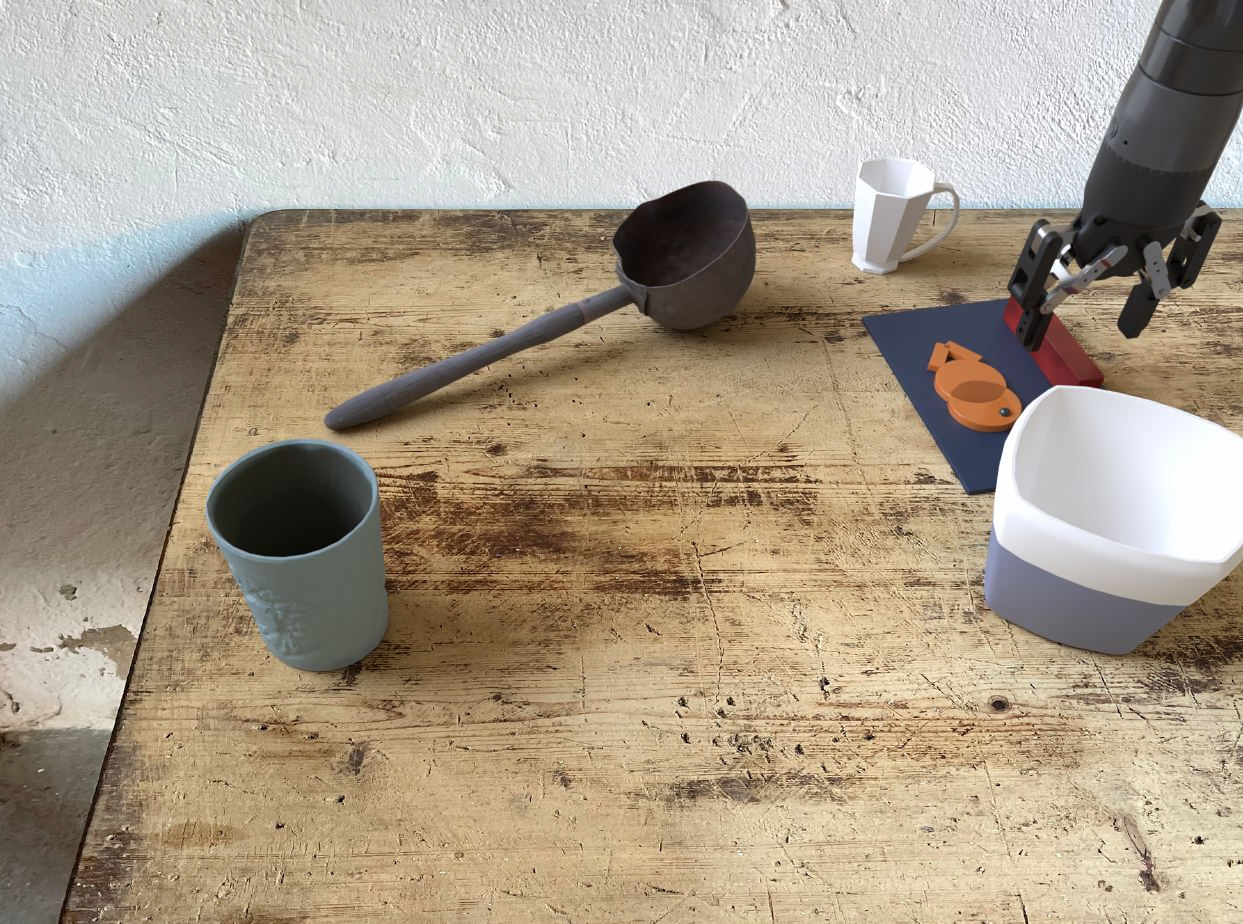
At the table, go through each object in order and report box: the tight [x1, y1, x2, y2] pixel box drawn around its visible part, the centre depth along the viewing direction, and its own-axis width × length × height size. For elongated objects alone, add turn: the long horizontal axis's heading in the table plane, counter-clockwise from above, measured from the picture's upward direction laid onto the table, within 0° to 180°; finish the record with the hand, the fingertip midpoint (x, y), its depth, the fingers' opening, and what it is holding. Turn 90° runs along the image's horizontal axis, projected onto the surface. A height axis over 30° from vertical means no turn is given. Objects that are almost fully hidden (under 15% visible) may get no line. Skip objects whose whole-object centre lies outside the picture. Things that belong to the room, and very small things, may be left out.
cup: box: [851, 155, 961, 276], centre depth 99 cm, size 7×10×8 cm
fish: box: [927, 341, 1022, 432], centre depth 90 cm, size 11×6×1 cm, turn 12°
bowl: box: [983, 385, 1243, 656], centre depth 74 cm, size 15×15×11 cm
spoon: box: [1002, 294, 1106, 389], centre depth 90 cm, size 17×5×3 cm, turn 12°
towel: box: [860, 297, 1109, 496], centre depth 91 cm, size 16×22×1 cm
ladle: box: [323, 180, 757, 431], centre depth 92 cm, size 12×38×10 cm, turn 119°
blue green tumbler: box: [205, 438, 390, 672], centre depth 71 cm, size 10×10×12 cm
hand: (1077, 339), depth 89 cm, fingers open, 8 cm apart
